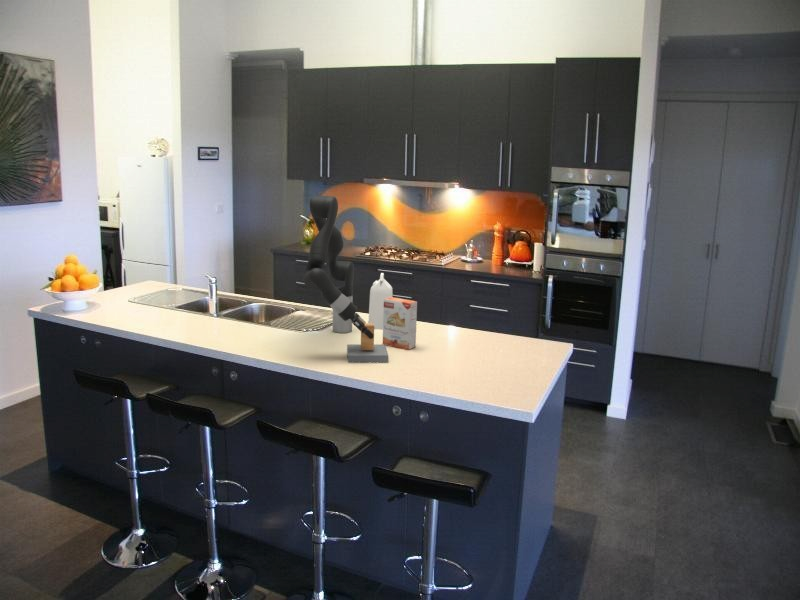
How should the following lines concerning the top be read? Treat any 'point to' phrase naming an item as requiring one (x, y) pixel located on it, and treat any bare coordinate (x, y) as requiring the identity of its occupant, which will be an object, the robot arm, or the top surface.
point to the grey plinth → (367, 354)
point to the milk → (378, 301)
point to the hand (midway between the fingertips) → (371, 335)
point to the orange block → (367, 338)
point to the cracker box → (399, 323)
